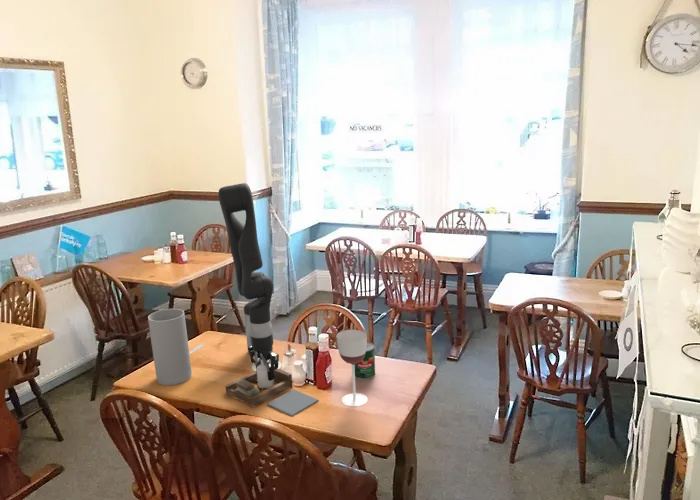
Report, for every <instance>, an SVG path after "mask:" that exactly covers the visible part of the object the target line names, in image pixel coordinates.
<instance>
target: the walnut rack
mask: <svg viewBox="0 0 700 500" xmlns="http://www.w3.org/2000/svg"><path fill="white" fill-rule="evenodd" d="M243 379H244V380H246V381H248V382H250V383H252V384H254V383H256V382H258V380H257V373H256V370H255V371H253V372H251V373H249V374H246V375H244V376H243V377H240V378H239V379H236V380H235V381H231V382H230V383H228V384H225V386H224V387H225V388H224V389H225V394H226V395H228V396H231V397H233V398H235V399H236V400H238V401H241V402H243V403H245V404H247V405H249V406H251V407H253V408H256V407H258V406H260V405H262V404H264V403H266V402H267V401H269V400H271V399H273V398H275V397H277V396H279V395H281V394H282V393H285V392H286V391H288V390H290V389H291V388H293V374H292V373H290V372H287V371H285V370H282V369H280V368H278V369H276V370H274V386H273V387H271V388H266V389H265V390H264V391H261V392H259V394H257V395H255V396H253V397H249V396H247V395H244V394H242V393H240V392H238V391H236V390H235V389H237V386H236V382H239V381H241V380H243Z"/></svg>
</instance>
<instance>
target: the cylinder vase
mask: <svg viewBox="0 0 700 500" xmlns="http://www.w3.org/2000/svg"><path fill="white" fill-rule="evenodd" d="M185 316H186V314H185V311H184V310H182V309H179V308H165V309H161V310H158V311H157V310H156V311H154V312H152V313H150V314H149V315H148V316H147V319H148V320H147V321H148V322H147V323H148V328H149V334H150V342H151V348H152V357H153V365H154V370H155V377H156V381H157V383H159V384H160V385H162V386H175V385H179V384H182V383H185V382H186V381H188V380H190V378H191V377H192V374H193V372H192V363H191V357H190V355H191V354H189V352H190V349H189V340H188V334H187V333H188V331H187V324H186V317H185Z"/></svg>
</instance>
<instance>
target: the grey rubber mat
mask: <svg viewBox="0 0 700 500" xmlns="http://www.w3.org/2000/svg"><path fill="white" fill-rule="evenodd" d="M319 401H320V400H319V399H318V398H316V397H313V396H311V395H308V394H306V393H304V392H302V391H298V390H296V389H292V390H290V391H288V392H286V393H284V394H283V395H280V396H278V397H277V398H275V399H273V400H271V401H269V402H267V406H269V407H271V408H273V409H275V410H278V411H280V412H281V413H284V414H286V415H288V416H291V417H294V416H296V415H297V414H300V413H301V412H303V411H304V410H307V409H308V408H310V407H311V406H313V405H314V404H316V403H318V402H319Z"/></svg>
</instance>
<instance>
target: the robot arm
mask: <svg viewBox="0 0 700 500" xmlns="http://www.w3.org/2000/svg"><path fill="white" fill-rule="evenodd" d="M218 201H219V206H220V208H221V213H222V215H223V219H224V223H225V226H226V231H227V236H228V244H229V248H230V252H231V257H232V260H233V264H234V269H235V277H236V284H237V290H238V291H237V292H238V293H239V295H240V296H241V297H244V298H245V299H246V300H252V301H249V302H248V303H246V304H244V306H243V313H244V325H245V334H246V335H245V336H246V345H247V346H246V347H247V354H248V355H249V359H250V363H251V364H254V367H255V371H256V373H257V366H258V365H260V364H261V361H260V359H261V360H263V363H264V365H266V368H267V370H268V371H267V374H268V380H269V381H271V380H273V379H274V370H276V369H279V360H280V354H278V353H274V351H273V347H274V346H273V345H274V336H273V334H274V333H273V324H272V320H271V302H272V297H273V293H274V284H273V280H272V278H271V277H270V276H269V275H265V273H264V272H261V271H260V272H258V271H257V270H260V269H261V268H263V265H264V264H263V259H262V254H261V251H260V246H259V239H258V233H257V232H258V230H257V222H256V211H255V205H254V199H253V194H252V191H251V188H250V185H249V184H248V183H246V182H244V183H242V182H241V183H238V184H233V185H226V186H222V187H220V188H219V189H218ZM243 211H245V223H242V222H241V221H240V220H239V219H238V218H237V217H236V216H235V215H234V213H238V212H243ZM267 361H268V362H267ZM269 364H270V365H271V367H269Z"/></svg>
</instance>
